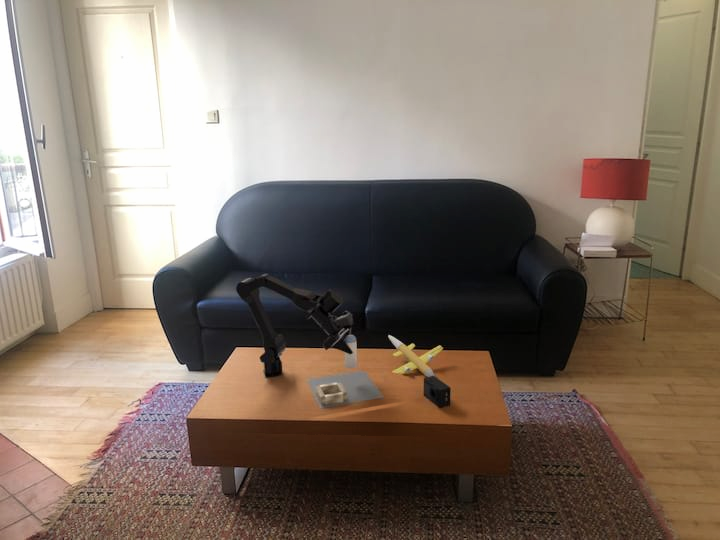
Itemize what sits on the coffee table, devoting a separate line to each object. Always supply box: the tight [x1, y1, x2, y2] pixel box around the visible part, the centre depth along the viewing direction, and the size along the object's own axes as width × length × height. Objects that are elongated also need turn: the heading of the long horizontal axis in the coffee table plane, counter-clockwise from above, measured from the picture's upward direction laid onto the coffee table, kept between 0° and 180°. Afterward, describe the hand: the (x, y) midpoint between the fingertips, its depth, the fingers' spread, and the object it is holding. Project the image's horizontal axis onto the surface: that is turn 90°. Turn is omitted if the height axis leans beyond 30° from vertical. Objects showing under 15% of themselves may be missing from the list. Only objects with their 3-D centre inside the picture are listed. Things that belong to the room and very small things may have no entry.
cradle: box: [316, 383, 347, 405], centre depth 189 cm, size 9×9×3 cm
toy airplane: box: [387, 334, 444, 377], centre depth 215 cm, size 26×7×30 cm
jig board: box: [305, 370, 385, 410], centre depth 196 cm, size 23×23×1 cm
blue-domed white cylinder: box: [344, 334, 358, 369], centre depth 198 cm, size 4×4×12 cm
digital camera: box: [423, 375, 451, 409], centre depth 187 cm, size 10×5×7 cm, turn 26°
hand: (354, 351), depth 197 cm, fingers closed on blue-domed white cylinder, 4 cm apart
